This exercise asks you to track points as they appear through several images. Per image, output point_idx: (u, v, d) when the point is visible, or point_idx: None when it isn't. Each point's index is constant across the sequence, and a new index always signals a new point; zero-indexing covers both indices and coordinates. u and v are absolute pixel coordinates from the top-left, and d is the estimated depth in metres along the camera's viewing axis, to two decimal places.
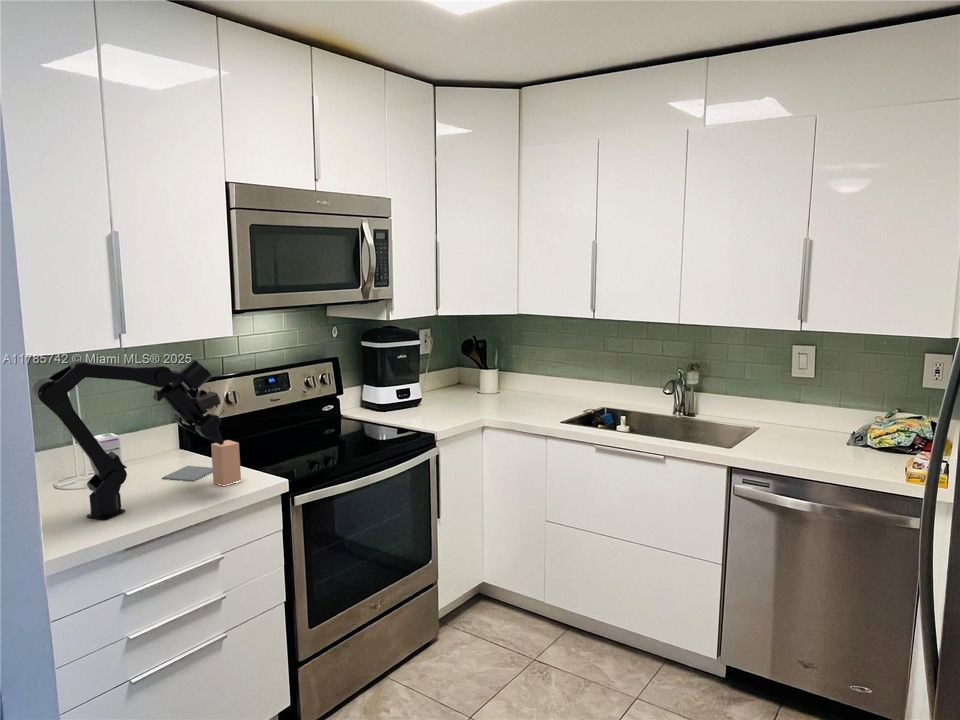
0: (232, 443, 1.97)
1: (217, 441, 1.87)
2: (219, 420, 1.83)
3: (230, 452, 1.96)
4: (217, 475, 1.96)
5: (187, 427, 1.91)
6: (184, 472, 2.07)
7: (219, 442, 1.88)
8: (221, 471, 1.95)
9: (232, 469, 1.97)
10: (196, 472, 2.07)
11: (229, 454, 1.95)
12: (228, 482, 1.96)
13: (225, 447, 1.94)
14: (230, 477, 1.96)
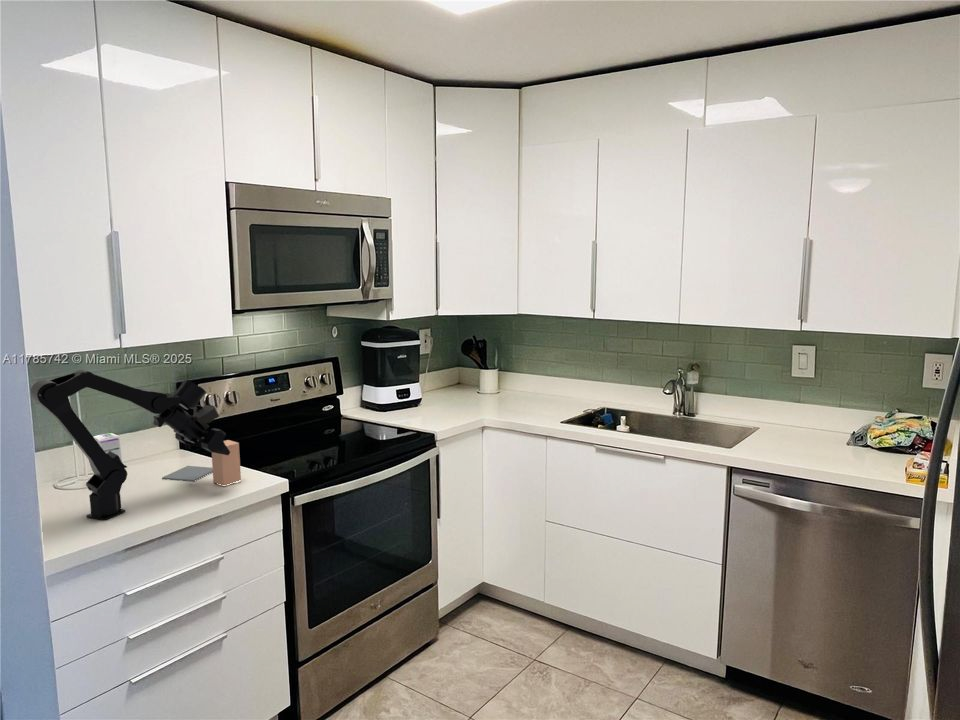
0: (232, 443, 1.97)
1: (224, 453, 1.91)
2: (223, 434, 1.86)
3: (230, 452, 1.96)
4: (217, 475, 1.96)
5: (190, 443, 1.94)
6: (184, 472, 2.07)
7: (226, 453, 1.92)
8: (221, 471, 1.95)
9: (232, 469, 1.97)
10: (196, 472, 2.07)
11: (229, 454, 1.95)
12: (228, 482, 1.96)
13: None
14: (230, 477, 1.96)
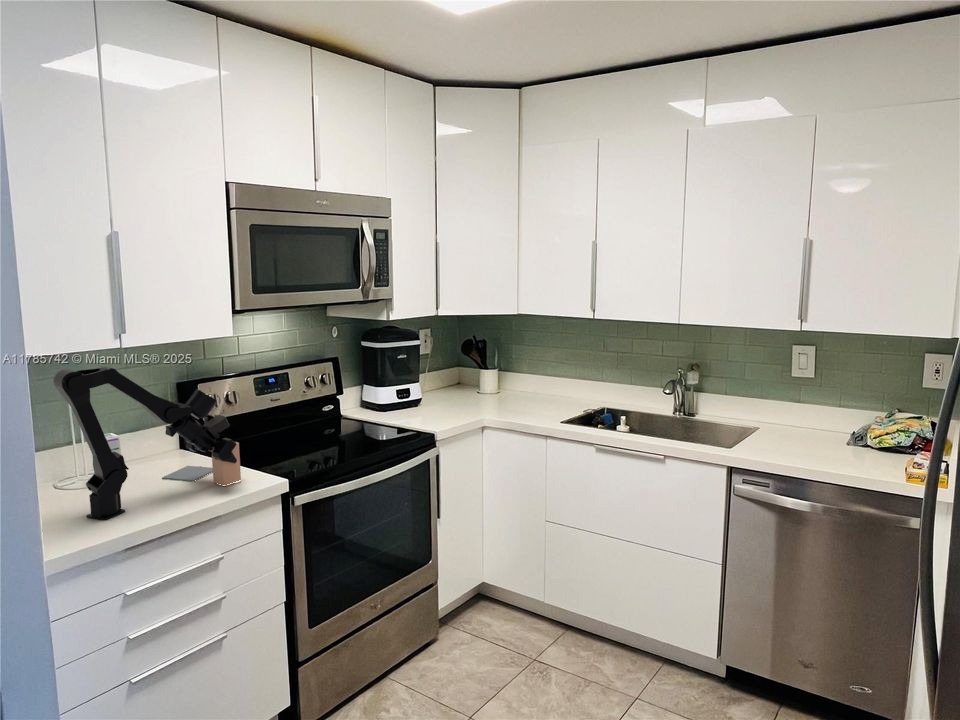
0: None
1: (231, 461, 1.95)
2: (234, 443, 1.89)
3: None
4: (217, 475, 1.96)
5: (203, 453, 1.96)
6: (184, 472, 2.07)
7: (233, 461, 1.96)
8: (221, 471, 1.95)
9: (232, 469, 1.97)
10: (196, 472, 2.07)
11: None
12: (228, 482, 1.96)
13: None
14: (230, 477, 1.96)
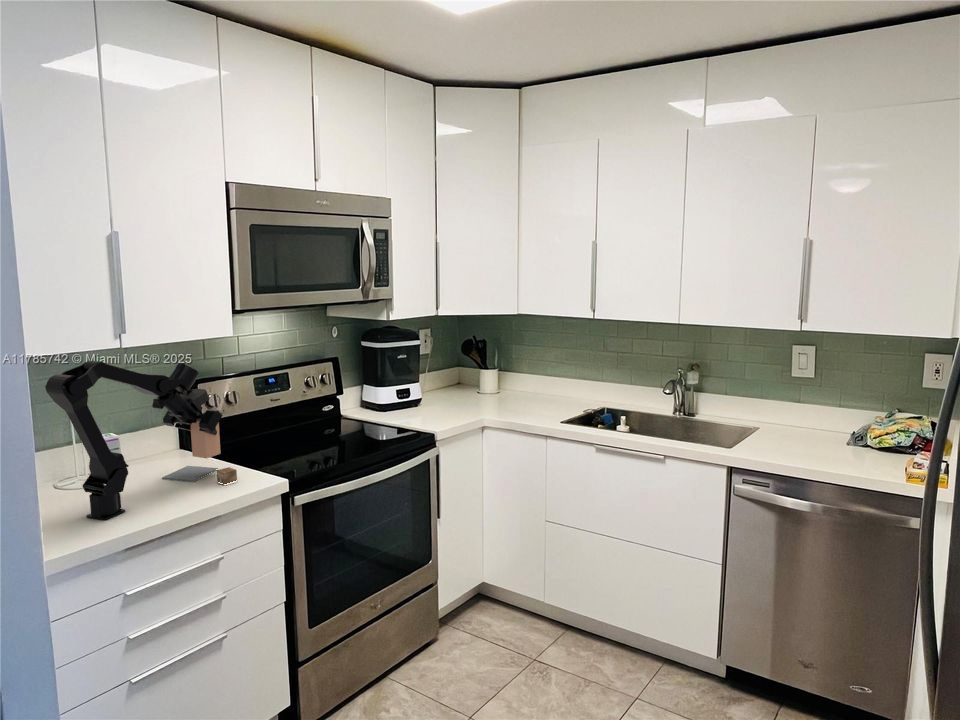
0: None
1: (213, 432, 2.00)
2: (220, 414, 1.95)
3: None
4: (198, 448, 2.00)
5: (183, 427, 1.99)
6: (184, 472, 2.07)
7: (214, 433, 2.01)
8: (203, 443, 1.99)
9: (213, 441, 2.02)
10: (196, 472, 2.07)
11: None
12: (210, 454, 2.01)
13: None
14: (211, 449, 2.01)
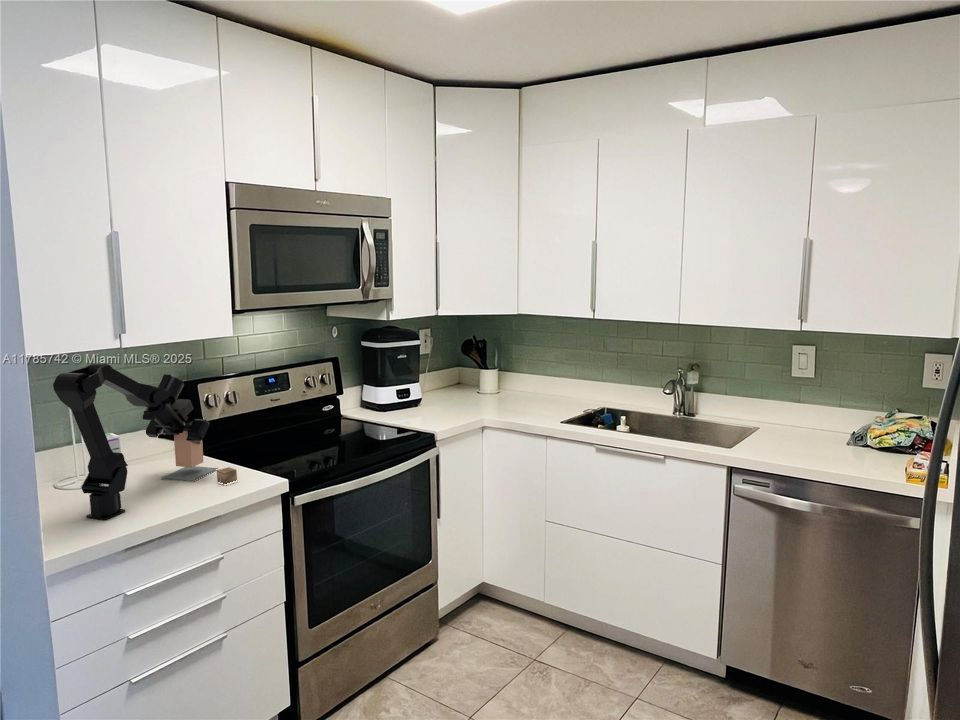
0: None
1: (197, 442, 2.04)
2: (208, 423, 1.99)
3: None
4: (182, 457, 2.03)
5: (167, 437, 2.01)
6: (184, 472, 2.07)
7: (198, 442, 2.04)
8: (188, 452, 2.02)
9: (197, 450, 2.05)
10: (196, 472, 2.07)
11: None
12: (195, 462, 2.04)
13: None
14: (196, 458, 2.05)
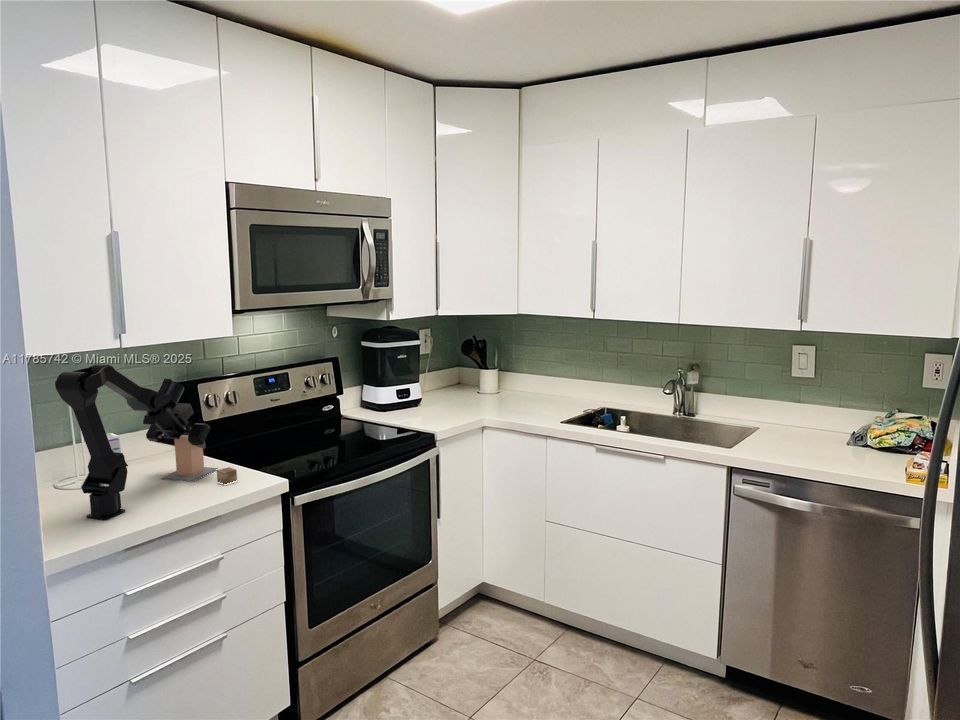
0: None
1: (203, 446, 2.04)
2: (208, 427, 2.00)
3: None
4: (183, 466, 2.04)
5: (163, 441, 2.01)
6: None
7: (203, 446, 2.04)
8: (189, 461, 2.03)
9: (197, 459, 2.05)
10: None
11: None
12: (195, 471, 2.05)
13: None
14: (197, 466, 2.05)
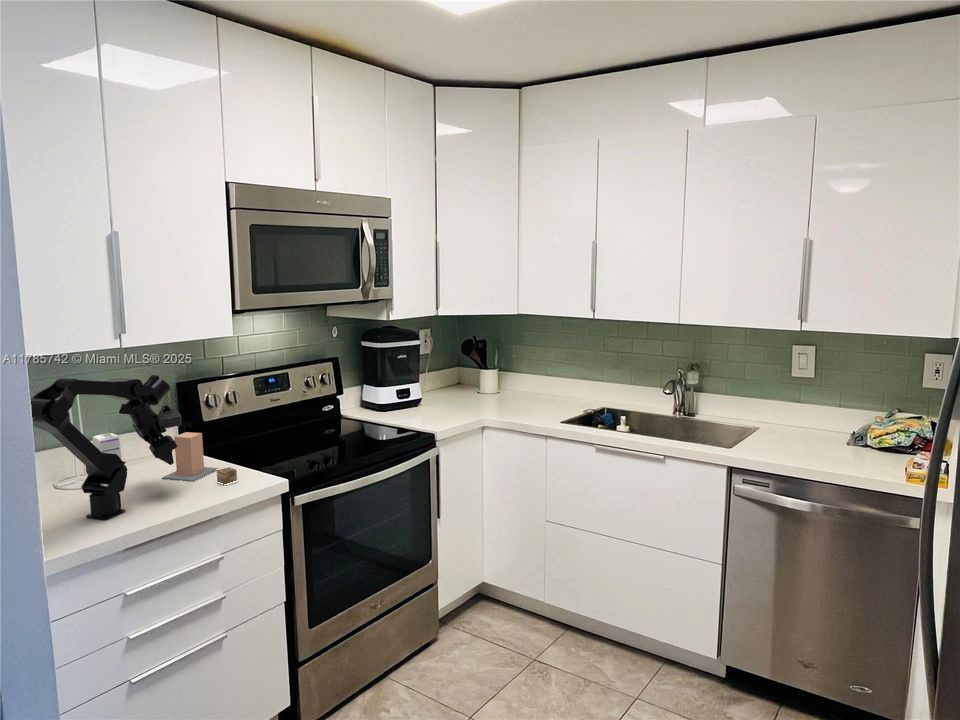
0: (196, 434, 2.06)
1: (167, 461, 1.89)
2: (175, 446, 1.84)
3: (196, 442, 2.04)
4: (183, 466, 2.04)
5: None
6: None
7: (169, 462, 1.89)
8: (189, 461, 2.03)
9: (197, 459, 2.05)
10: None
11: (195, 444, 2.04)
12: (195, 471, 2.05)
13: (192, 437, 2.03)
14: (197, 466, 2.05)
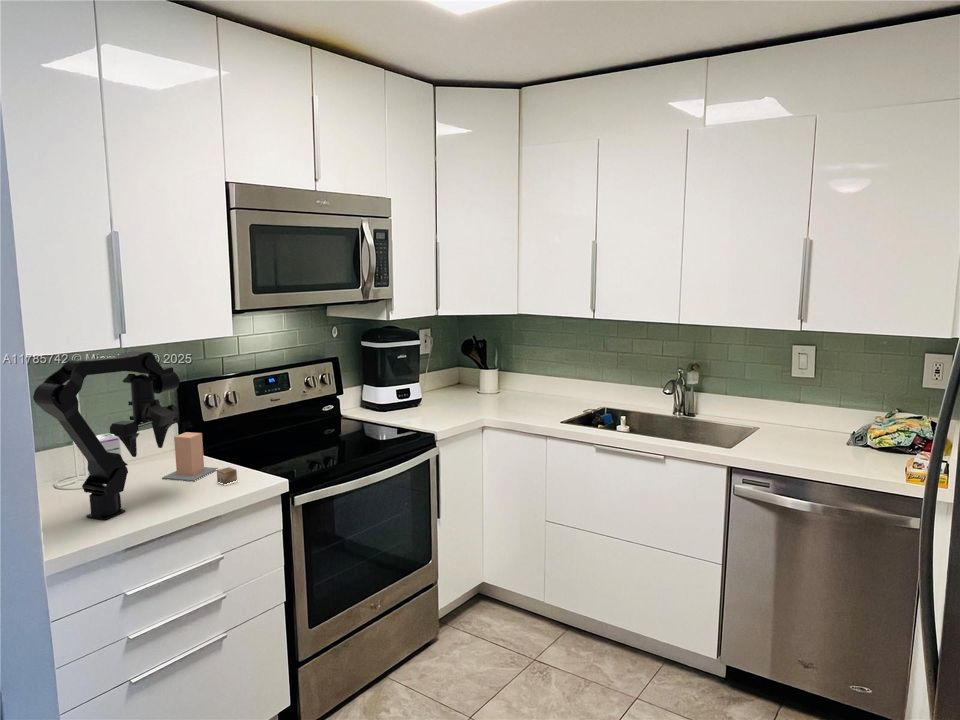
0: (196, 434, 2.06)
1: (129, 450, 1.80)
2: (125, 432, 1.74)
3: (196, 442, 2.04)
4: (183, 466, 2.04)
5: (153, 424, 1.89)
6: None
7: (130, 453, 1.80)
8: (189, 461, 2.03)
9: (197, 459, 2.05)
10: None
11: (195, 444, 2.04)
12: (195, 471, 2.05)
13: (192, 437, 2.03)
14: (197, 466, 2.05)
